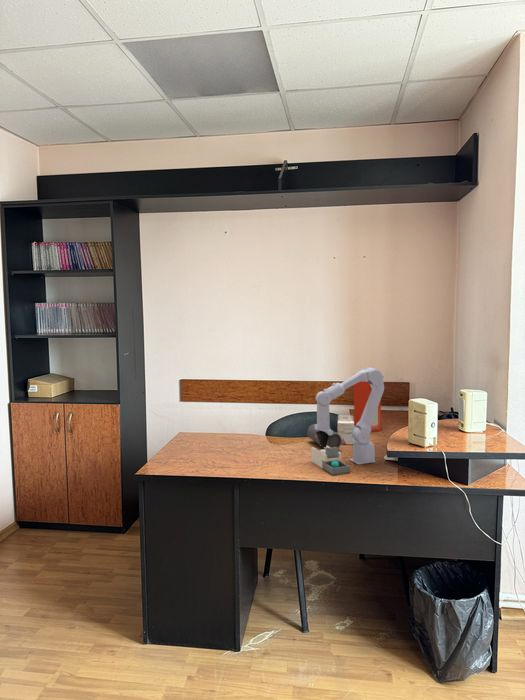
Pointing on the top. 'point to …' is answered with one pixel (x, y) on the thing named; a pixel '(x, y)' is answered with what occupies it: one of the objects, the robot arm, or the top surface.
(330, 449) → the grey rectangular block
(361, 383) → the tall red panel
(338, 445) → the bluetooth speaker
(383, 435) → the top surface
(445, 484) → the top surface
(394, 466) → the top surface
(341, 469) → the grey open tray
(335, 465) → the ball
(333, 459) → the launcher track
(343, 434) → the ink cartridge box
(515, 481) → the top surface
